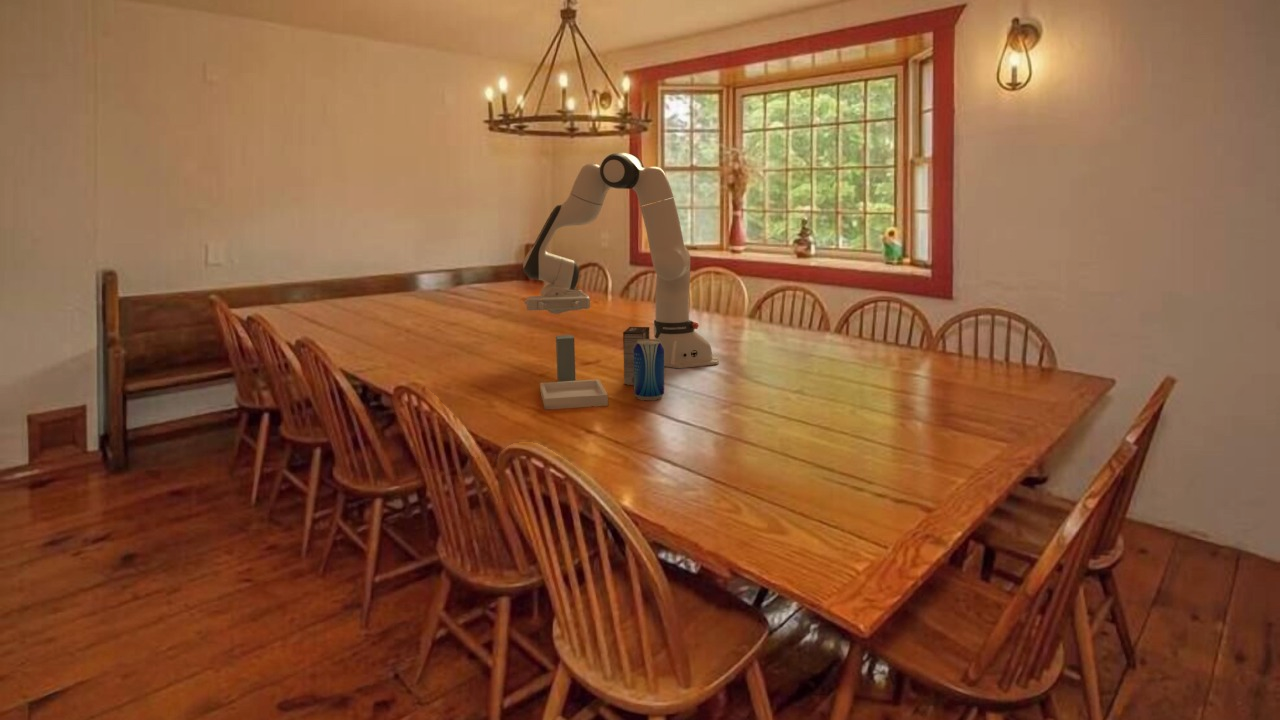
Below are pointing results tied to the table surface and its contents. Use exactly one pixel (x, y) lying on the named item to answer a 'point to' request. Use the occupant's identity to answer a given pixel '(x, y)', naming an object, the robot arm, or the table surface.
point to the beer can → (648, 369)
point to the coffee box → (632, 350)
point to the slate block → (565, 358)
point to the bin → (573, 394)
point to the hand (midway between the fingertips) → (560, 306)
